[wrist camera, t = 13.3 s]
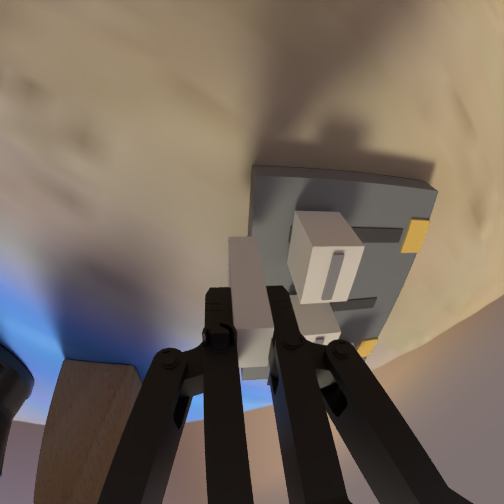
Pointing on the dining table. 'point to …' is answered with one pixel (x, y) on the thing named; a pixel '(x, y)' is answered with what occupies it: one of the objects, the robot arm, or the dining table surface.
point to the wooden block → (84, 430)
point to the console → (363, 224)
